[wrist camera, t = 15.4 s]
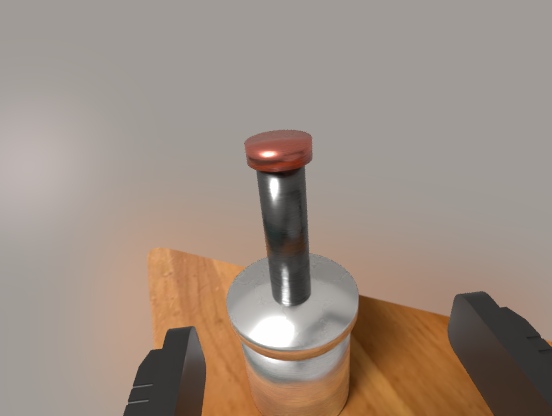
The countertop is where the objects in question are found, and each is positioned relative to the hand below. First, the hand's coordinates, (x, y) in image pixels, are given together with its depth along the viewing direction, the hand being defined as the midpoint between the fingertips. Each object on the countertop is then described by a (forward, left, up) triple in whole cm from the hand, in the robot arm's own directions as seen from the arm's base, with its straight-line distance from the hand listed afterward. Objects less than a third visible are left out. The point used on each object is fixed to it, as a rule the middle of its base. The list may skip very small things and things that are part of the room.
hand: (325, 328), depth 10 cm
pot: (0, -12, -21) cm, 24 cm away
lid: (0, -12, -11) cm, 16 cm away
